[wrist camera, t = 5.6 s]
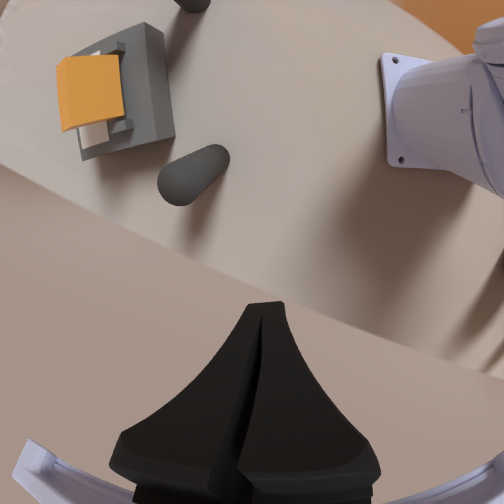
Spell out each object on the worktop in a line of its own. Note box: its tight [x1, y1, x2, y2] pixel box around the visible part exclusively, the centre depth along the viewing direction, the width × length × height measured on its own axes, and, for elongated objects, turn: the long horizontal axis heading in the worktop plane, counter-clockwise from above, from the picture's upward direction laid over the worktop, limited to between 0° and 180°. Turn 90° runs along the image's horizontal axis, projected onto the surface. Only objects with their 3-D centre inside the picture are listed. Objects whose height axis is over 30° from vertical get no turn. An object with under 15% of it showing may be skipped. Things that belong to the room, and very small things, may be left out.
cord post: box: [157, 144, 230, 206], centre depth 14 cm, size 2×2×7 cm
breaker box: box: [71, 22, 176, 161], centre depth 13 cm, size 6×8×4 cm
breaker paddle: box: [56, 55, 124, 132], centre depth 11 cm, size 1×4×4 cm, turn 6°
